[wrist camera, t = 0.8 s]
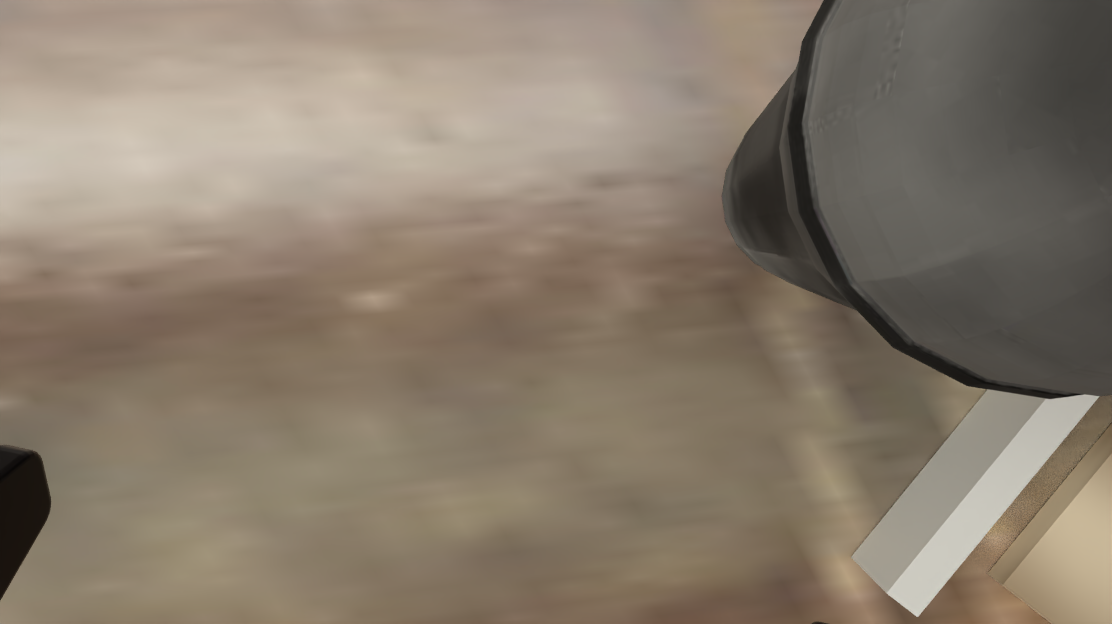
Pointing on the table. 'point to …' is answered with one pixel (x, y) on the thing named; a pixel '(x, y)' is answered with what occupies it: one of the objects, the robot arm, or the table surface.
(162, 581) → the table surface
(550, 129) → the table surface
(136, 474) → the table surface
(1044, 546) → the coaster
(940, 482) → the divider wall
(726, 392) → the table surface
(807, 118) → the beverage cup
